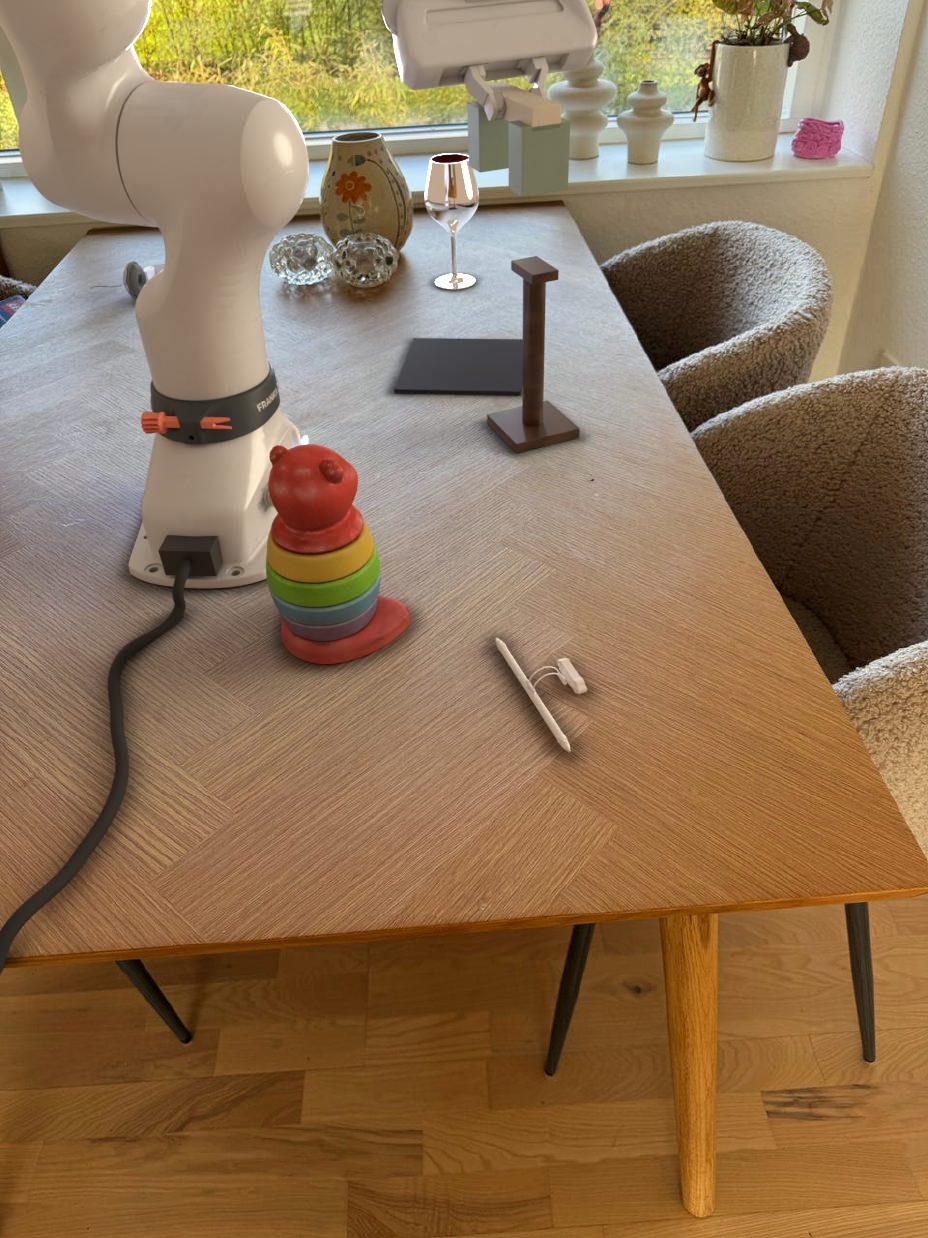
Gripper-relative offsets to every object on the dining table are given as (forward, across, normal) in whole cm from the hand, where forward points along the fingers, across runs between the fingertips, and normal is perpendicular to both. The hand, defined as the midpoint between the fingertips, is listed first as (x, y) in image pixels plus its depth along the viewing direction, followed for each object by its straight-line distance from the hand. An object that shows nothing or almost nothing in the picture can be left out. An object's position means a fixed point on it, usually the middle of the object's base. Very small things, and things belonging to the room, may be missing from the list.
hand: (519, 112), depth 89 cm
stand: (+26, 0, +20) cm, 33 cm away
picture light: (+53, -18, -8) cm, 57 cm away
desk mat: (+12, 0, +34) cm, 36 cm away
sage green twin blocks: (+4, 0, +5) cm, 6 cm away
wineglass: (-9, +11, +55) cm, 57 cm away
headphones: (-22, -31, +68) cm, 78 cm away
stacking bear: (+43, -32, +3) cm, 53 cm away
